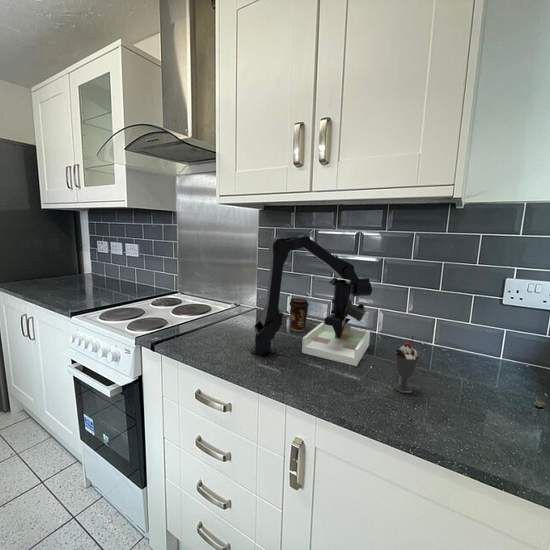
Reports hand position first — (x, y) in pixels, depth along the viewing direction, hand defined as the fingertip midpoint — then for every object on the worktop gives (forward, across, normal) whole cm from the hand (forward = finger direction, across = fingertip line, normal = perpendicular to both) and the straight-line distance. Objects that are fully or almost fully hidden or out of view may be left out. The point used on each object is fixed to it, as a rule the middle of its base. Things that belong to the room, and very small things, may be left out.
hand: (338, 338), depth 109 cm
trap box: (+4, -2, 0) cm, 4 cm away
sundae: (+4, -19, -24) cm, 31 cm away
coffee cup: (+4, +10, +21) cm, 24 cm away
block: (+1, +4, 0) cm, 4 cm away
